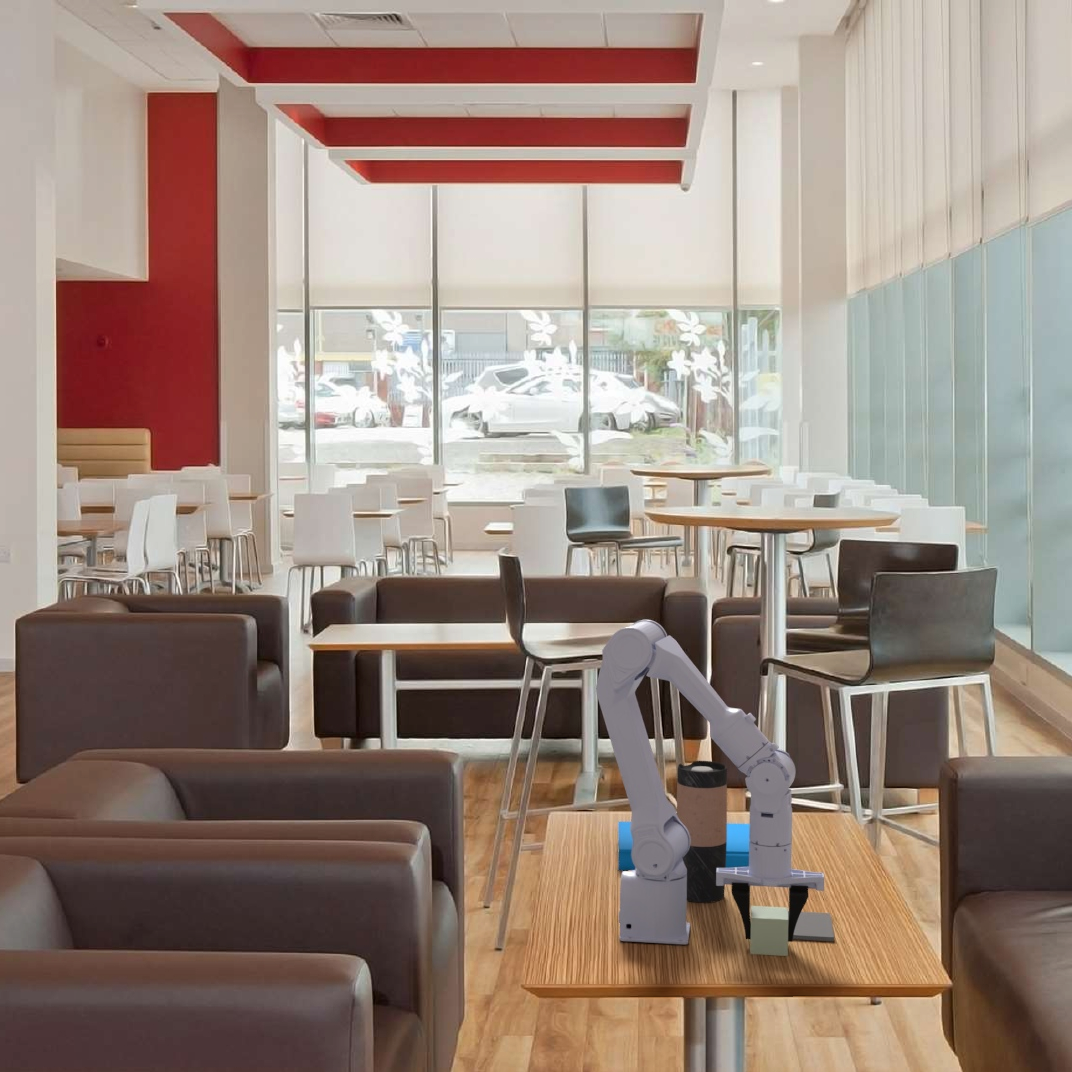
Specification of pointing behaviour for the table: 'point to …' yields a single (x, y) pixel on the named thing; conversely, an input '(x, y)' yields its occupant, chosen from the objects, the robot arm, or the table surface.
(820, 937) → the coaster
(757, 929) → the cube
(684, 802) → the travel mug
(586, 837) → the table surface
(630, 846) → the book
